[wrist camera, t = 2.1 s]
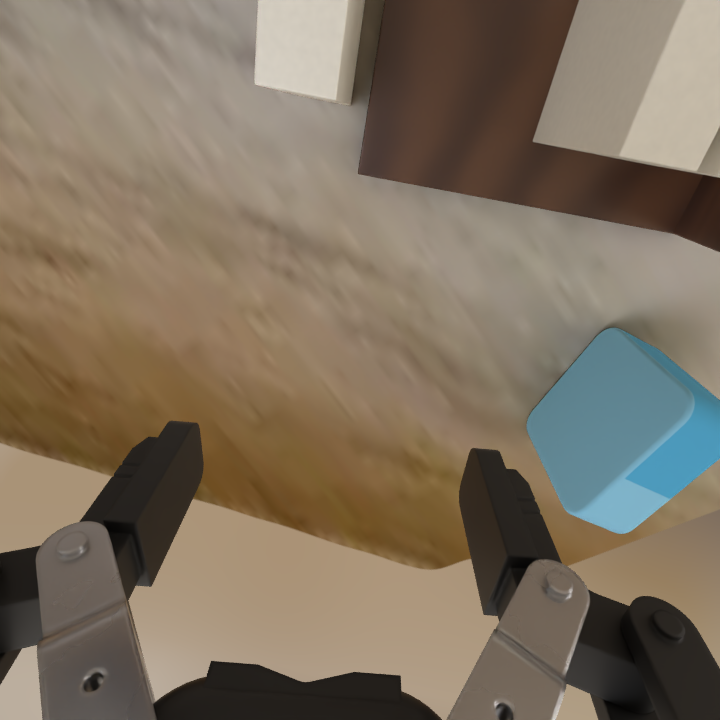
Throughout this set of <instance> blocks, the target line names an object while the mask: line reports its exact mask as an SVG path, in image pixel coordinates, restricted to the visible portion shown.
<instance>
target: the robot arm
mask: <svg viewBox="0 0 720 720" xmlns="http://www.w3.org/2000/svg"><path fill="white" fill-rule="evenodd" d="M202 474H203V454H202V445H201V437H200V429H199V425H198V424H197V423H192V422H180V421H169V422H168V423H167V425H166V426H165V428H164V429H163V431H162V432H161V434H160V435H159V437H158V438H157V437H148V438H146V439H145V440H143V441H142V442H141V443H139V444H138V445H136V446H135V447H134V448H132V450H131V451H130V453H129V454H128V455H127V457H126V458H125V460H124V461H123V463H122V465H120V466H119V468H118V469H117V471H116V472H115V473H114V477H112V478H111V479H110V480H109V482H108V483H107V485H106V486H105V487H104V489H103V490H102V492H101V493H100V494H99V496H98V497H97V498H96V500H95V501H94V503H93V504H92V505H91V507H90V508H89V510H88V511H87V512H86V514H85V515H84V516H83V518H82V519H81V521H80V522H78V523H74V524H71V525H68V526H66V527H64V528H62V529H60V530H58V531H56V532H55V533H54V534H52V535H51V536H50V537H49V538H47V539H46V541H45V542H44V543H43V544H42V545H41V546H37V547H32V548H27V549H21V550H16V551H11V552H5V553H0V684H1V683H2V681H3V679H4V678H5V676H6V674H7V673H8V671H9V669H10V668H11V666H12V664H13V663H14V661H15V659H16V658H17V656H18V654H19V653H20V651H21V649H22V648H26V647H30V646H34V645H37V658H38V669H39V682H40V693H41V706H42V718H43V720H442V719H441V718H440V717H439V716H438V715H437V714H435V712H434V711H432V710H431V709H430V708H429V707H428V706H426V705H425V704H424V703H422V702H421V701H420V700H418V699H416V698H414V697H413V696H411V695H409V694H407V693H404V692H402V691H401V676H398V675H386V674H373V673H360V672H353V673H348V674H343V675H339V676H334V677H330V678H325V679H321V680H316V681H312V682H301V681H297V680H295V679H293V678H290V677H288V676H285V675H283V674H280V673H278V672H275V671H272V670H270V669H267V668H265V667H263V666H260V665H256V664H243V663H229V662H217V661H211V663H210V667H209V670H208V673H207V677H204V678H199V679H197V680H194V681H191V682H188V683H186V684H184V685H182V686H180V687H177V688H176V689H174V690H172V691H170V692H169V693H167V694H166V695H164V696H163V697H161V698H160V699H159V700H157V701H156V702H155V698H154V694H153V691H152V687H151V684H150V680H149V677H148V673H147V670H146V665H145V662H144V658H143V654H142V651H141V647H140V643H139V639H138V635H137V632H136V628H135V624H134V620H133V617H132V612H131V609H130V605H129V601H128V600H129V598H130V596H131V594H132V592H133V590H134V588H135V586H136V585H137V586H149V587H151V586H152V584H153V582H154V580H155V578H156V576H157V573H158V571H159V569H160V567H161V565H162V563H163V561H164V558H165V556H166V554H167V552H168V550H169V548H170V546H171V543H172V542H173V539H174V537H175V535H176V533H177V531H178V529H179V527H180V525H181V522H182V520H183V518H184V516H185V514H186V512H187V510H188V508H189V505H190V503H191V501H192V499H193V497H194V495H195V493H196V491H197V488H198V486H199V484H200V481H201V478H202ZM459 503H460V509H461V514H462V518H463V523H464V528H465V532H466V537H467V541H468V546H469V550H470V555H471V559H472V564H473V569H474V573H475V577H476V582H477V587H478V591H479V596H480V600H481V605H482V609H483V614H484V615H492V616H498V619H499V624H498V626H497V627H496V629H494V631H493V633H492V634H491V636H490V638H489V640H488V642H487V644H486V646H485V648H484V650H483V652H482V653H481V655H480V657H479V659H478V661H477V663H476V665H475V667H474V669H473V671H472V672H471V674H470V676H469V678H468V680H467V682H466V684H465V686H464V688H463V689H462V691H461V693H460V695H459V697H458V699H457V701H456V703H455V705H454V707H453V709H452V710H451V712H450V714H449V716H448V718H447V720H556V717H557V714H558V711H559V708H560V705H561V702H562V699H563V696H564V693H565V689H566V684H569V685H571V686H574V687H576V688H578V689H581V690H583V691H585V692H587V693H590V695H591V698H592V701H593V704H594V707H595V710H596V713H597V716H598V720H720V668H719V666H718V665H717V663H716V661H715V659H714V658H713V656H712V654H711V652H710V651H709V649H708V647H707V645H706V644H705V642H704V640H703V639H702V637H701V635H700V633H699V632H698V630H697V628H696V627H695V626H694V624H693V623H692V622H691V621H690V620H689V619H688V618H687V617H686V615H684V614H683V613H682V612H681V611H680V610H678V609H677V608H675V607H674V606H672V605H671V604H669V603H667V602H665V601H663V600H661V599H658V598H655V597H651V596H641V597H638V598H636V599H635V600H633V602H632V603H631V605H630V606H627V605H625V604H622V603H619V602H617V601H614V600H611V599H609V598H606V597H603V596H601V595H598V594H596V593H594V592H592V591H590V590H588V589H587V587H586V585H585V584H584V582H583V581H582V579H581V578H580V577H579V576H578V575H577V574H576V573H575V572H574V571H573V570H571V569H570V568H569V567H567V566H565V565H564V564H562V562H561V560H560V558H559V555H558V553H557V550H556V548H555V546H554V543H553V541H552V538H551V536H550V534H549V531H548V529H547V527H546V524H545V522H544V519H543V517H542V515H541V514H540V510H539V507H538V505H537V503H536V502H535V498H534V495H533V493H532V491H531V488H530V486H529V484H528V482H527V481H526V480H525V479H524V478H523V477H522V476H521V475H520V474H519V473H518V471H517V470H514V469H506V467H505V465H504V462H503V459H502V457H501V454H500V452H499V451H498V450H489V449H478V448H472V449H471V450H470V453H469V456H468V460H467V463H466V467H465V470H464V474H463V478H462V481H461V485H460V491H459Z"/></svg>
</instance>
